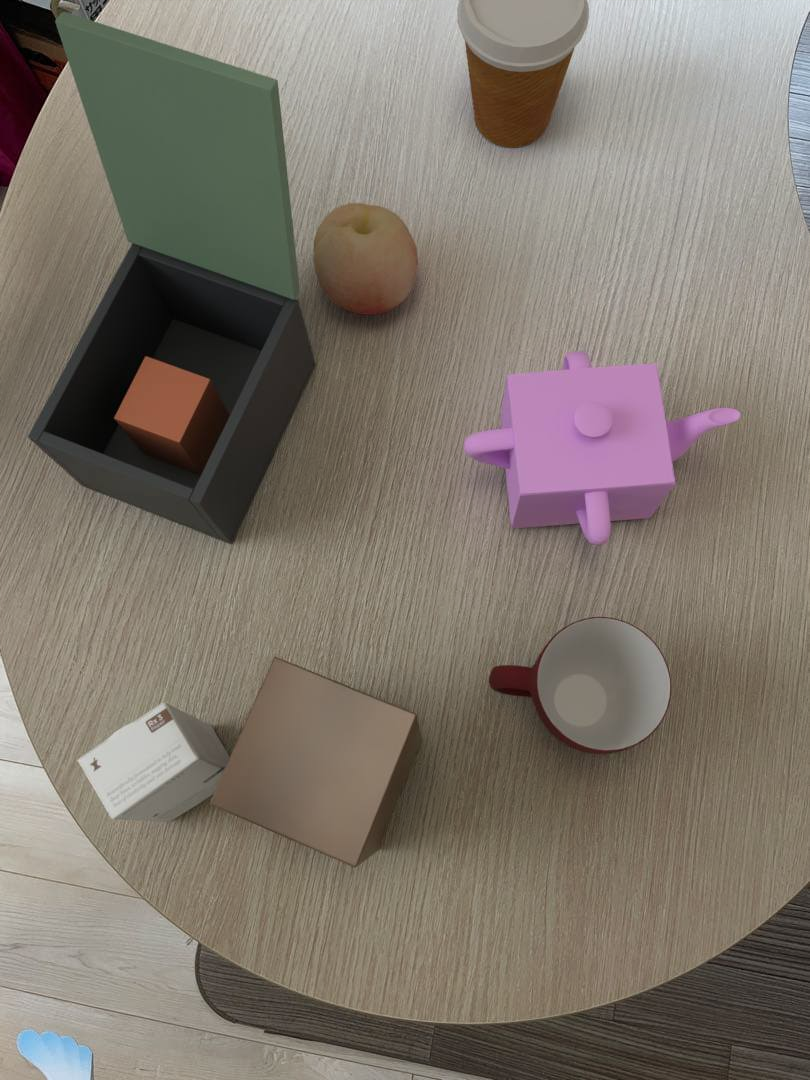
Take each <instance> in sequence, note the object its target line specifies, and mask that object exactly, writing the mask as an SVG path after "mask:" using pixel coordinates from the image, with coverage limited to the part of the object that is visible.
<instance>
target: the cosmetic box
mask: <svg viewBox="0 0 810 1080" xmlns="http://www.w3.org/2000/svg"><path fill="white" fill-rule="evenodd" d="M229 758H230V755H229V753H228V751H227V750H226V748H225V746H224V745H223V743H222V741H221V739H220V738H219V736H218V735H217V733H216V731H215V729H214V727H213V726H212V725H211V724H210V723H207V722H205V721H203V720H201V719H200V718H198V717H195V716H193V715H191V714H189V713H188V712H186V711H183V710H181V709H179V708H177V707H176V706H173V705H172V704H169V703H168V702H166V701H163V702H160V704H158V705H156V706H155V707H153V708H152V709H150V710H149V711H147V712H146V713H145V714H143V715H142V716H140V717H138V718H137V719H136V720H133V721H132V722H130V723H128V724H126V725H123V726H122V727H121V728H119V729H118V730H116V731H115V732H113V733H112V734H111V735H110V736H109V737H108V738H107V739H105V740H103V741H102V742H101V743H99V744H98V745H96V746H95V747H93V748H92V749H90V750H89V751H88V752H86V753H84V754H83V755H81V756H80V757H79V758H78V759H77V763H78V764H79V765H80V768H81V769H82V771H83V773H84V774H85V776H86V777H87V779H88V781H89V783H90V785H91V786H92V788H93V789H94V791H95V794H96V795H97V796H98V798H99V800H100V802H101V803H102V805H103V807H104V808H105V810H106V813H107V814H108V815H109V818H110V819H111V820H116V821H117V820H119V821H120V820H122V821H139V822H140V821H141V822H142V821H143V822H157V823H158V822H161V823H169V822H171V821H173V820H175V819H177V818H179V817H180V816H181V815H183V814H185V813H186V812H188V811H189V810H191V809H193V808H195V807H196V806H198V805H199V804H201V803H202V802H203V801H205V800H206V799H209V798H210V797H212V796H213V794H214V792H215V790H216V788H217V785H218V783H219V781H220V779H221V776H222V774H223V772H224V770H225V767H226V765H227V763H228V760H229Z"/></svg>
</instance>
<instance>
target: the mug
mask: <svg viewBox="0 0 810 1080" xmlns="http://www.w3.org/2000/svg"><path fill="white" fill-rule="evenodd" d="M670 672H671V671H670V668H669V665H668V663H667V660H666V658H665V656H664V654H663V652H662V651H661V649H660V648H659V646H658V645H657V644H656V642H655V641H654V640H653V639H652V638H651V637H650V636H649V635H648V634H647V633H646V632H644V631H643V630H642V629H640V628H639V627H637V626H636V625H634V624H631V623H629V622H627V621H625V620H622V619H619V618H616V617H615V618H614V617H608V616H592V617H587V618H582V619H579V620H576V621H574V622H571V623H569V624H568V625H566V626H564V627H563V628H561V629H560V630H559V631H557V632H556V633H555V634H554V635H553V636H552V637H551V638H550V639H549V640H548V642H547V643H546V644H545V646H544V647H543V648H542V650H541V651H540V653H539V655H538V657H537V658H536V660H535V662H534V664H533V665H532V666H523V665H513V664H503V665H502V664H501V665H496V666H494V667H493V668H491V670H490V672H489V677H488V682H489V687H490V688H491V690H493V691H494V692H497V693H500V694H503V695H507V696H512V697H513V696H514V697H522V698H523V697H524V698H531V699H532V703H533V706H534V709H535V711H536V714H537V716H538V718H539V720H540V721H541V723H542V724H543V726H544V727H545V728H546V729H547V731H548V732H549V733H550V734H551V736H553V737H554V738H555V739H556V740H558V741H559V742H561V743H562V744H563V745H565V746H567V747H569V748H571V749H573V750H576V751H578V752H582V753H586V754H589V755H590V754H591V755H611V754H617V753H620V752H623V751H627V750H629V749H631V748H634V747H636V746H637V745H640V744H641V743H643V742H644V741H646V740H647V739H649V737H650V736H652V735H653V734H654V733H655V732H656V730H657V729H658V728H659V727H660V725H661V724H662V722H663V721H664V719H665V717H666V715H667V713H668V710H669V707H670V703H671V699H672V698H671V697H672V678H671V673H670Z"/></svg>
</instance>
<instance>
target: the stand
mask: <svg viewBox="0 0 810 1080" xmlns="http://www.w3.org/2000/svg"><path fill="white" fill-rule="evenodd" d="M422 741H423V735H422V731H421V727H420V723H419V719H418V715H417V713H415V712H412V711H410V710H407V709H405V708H403V707H400V706H398V705H395V704H393V703H390V702H388V701H385V700H383V699H381V698H378V697H375V696H373V695H371V694H368V693H366V692H364V691H361V690H359V689H357V688H353V687H352V686H350V685H346V684H343V683H341V682H339V681H336V680H334V679H331V678H329V677H326V676H324V675H321V674H320V673H317V672H314V671H312V670H309V669H307V668H304V667H303V666H300V665H298V664H294V663H292V662H290V661H287V660H285V659H283V658H280V657H278V656H274V657H273V659H272V661H271V664H270V666H269V668H268V670H267V673H266V675H265V677H264V679H263V681H262V684H261V686H260V688H259V691H258V693H257V695H256V697H255V700H254V702H253V704H252V707H251V709H250V711H249V713H248V715H247V718H246V719H245V722H244V724H243V727H242V729H241V731H240V733H239V736H238V738H237V740H236V743H235V745H234V747H233V749H232V752H231V754H230V755H229V757H230V758H229V760H228V763H227V765H226V767H225V770H224V772H223V774H222V776H221V779H220V781H219V783H218V785H217V788H216V790H215V792H214V793H213V794H212V796H211V799H210V802H209V805H210V806H212V807H214V808H216V809H219V810H221V811H224V812H226V813H228V814H230V815H233V816H235V817H238V818H240V819H242V820H244V821H246V822H249V823H251V824H253V825H256V826H258V827H260V828H263V829H265V830H267V831H270V832H272V833H275V834H277V835H278V836H281V837H284V838H286V839H288V840H290V841H292V842H295V843H297V844H299V845H302V846H304V847H306V848H309V849H311V850H313V851H316V852H318V853H319V854H323V855H325V856H327V857H329V858H332V859H334V860H336V861H339V862H341V863H343V864H346V865H348V866H350V867H353V868H358V866H360V865H361V864H362V863H363V862H365V861H367V860H368V859H369V858H371V857H372V856H373V855H374V854H376V853H377V852H378V851H379V850H380V848H381V846H382V843H383V840H384V839H385V835H386V833H387V830H388V827H389V825H390V822H391V820H392V817H393V815H394V812H395V810H396V807H397V805H398V802H399V800H400V797H401V794H402V792H403V789H404V787H405V784H406V782H407V779H408V777H409V775H410V771H411V769H412V767H413V764H414V762H415V759H416V756H417V754H418V751H419V749H420V747H421V743H422Z"/></svg>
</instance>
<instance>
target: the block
mask: <svg viewBox="0 0 810 1080" xmlns="http://www.w3.org/2000/svg"><path fill="white" fill-rule="evenodd" d="M229 417H230V415H229V413H228V411H227V409H226V407H225V406H224V404H223V402H222V400H221V398H220V396H219V394H218V393H217V391H216V389H215V387H214V385H213V383H212V381H211V380H210V379H209V378H206V377H203V376H200V375H197V374H195V373H192V372H189V371H186V370H184V369H181V368H178V367H175V366H172V365H170V364H167V363H164V362H161V361H158V360H156V359H153V358H150V357H147V356H145V358H144V360H143V362H142V364H141V366H140V368H139V370H138V372H137V374H136V376H135V378H134V380H133V382H132V384H131V386H130V388H129V389H128V391H127V393H126V395H125V397H124V399H123V401H122V403H121V405H120V407H119V409H118V411H117V413H116V415H115V417H114V419H115V420H116V421H117V422H118V424H119V425H120V426H121V427H122V428H123V430H124V431H125V432H126V433H127V434H128V436H129V437H130V438H131V439H132V440H133V442H134V443H135V444H136V445H137V446H138V447H139V449H140V450H141V451H142V452H143V453H144V455H146V456H149V457H152V458H154V459H157V460H160V461H162V462H165V463H168V464H170V465H173V466H176V467H178V468H181V469H184V470H186V471H189V472H192V473H194V474H197V475H200V476H201V474H202V472H203V470H204V468H205V466H206V464H207V462H208V460H209V458H210V456H211V454H212V452H213V450H214V448H215V446H216V443H217V441H218V439H219V437H220V435H221V433H222V431H223V429H224V427H225V425H226V423H227V421H228V419H229Z"/></svg>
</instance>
